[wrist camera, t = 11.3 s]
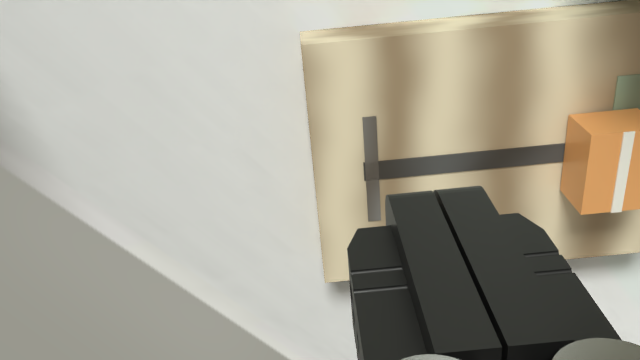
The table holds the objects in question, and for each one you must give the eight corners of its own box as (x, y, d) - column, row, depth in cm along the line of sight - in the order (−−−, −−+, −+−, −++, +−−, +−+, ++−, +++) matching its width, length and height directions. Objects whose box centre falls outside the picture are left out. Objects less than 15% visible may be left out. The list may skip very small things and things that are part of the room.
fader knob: (560, 190, 37) (581, 215, 34) (568, 114, 35) (592, 136, 32) (624, 183, 37) (651, 208, 34) (637, 108, 35) (667, 128, 32)
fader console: (322, 256, 43) (325, 283, 40) (299, 31, 35) (300, 45, 32) (631, 227, 43) (655, 251, 40) (674, -5, 35) (707, 6, 32)
